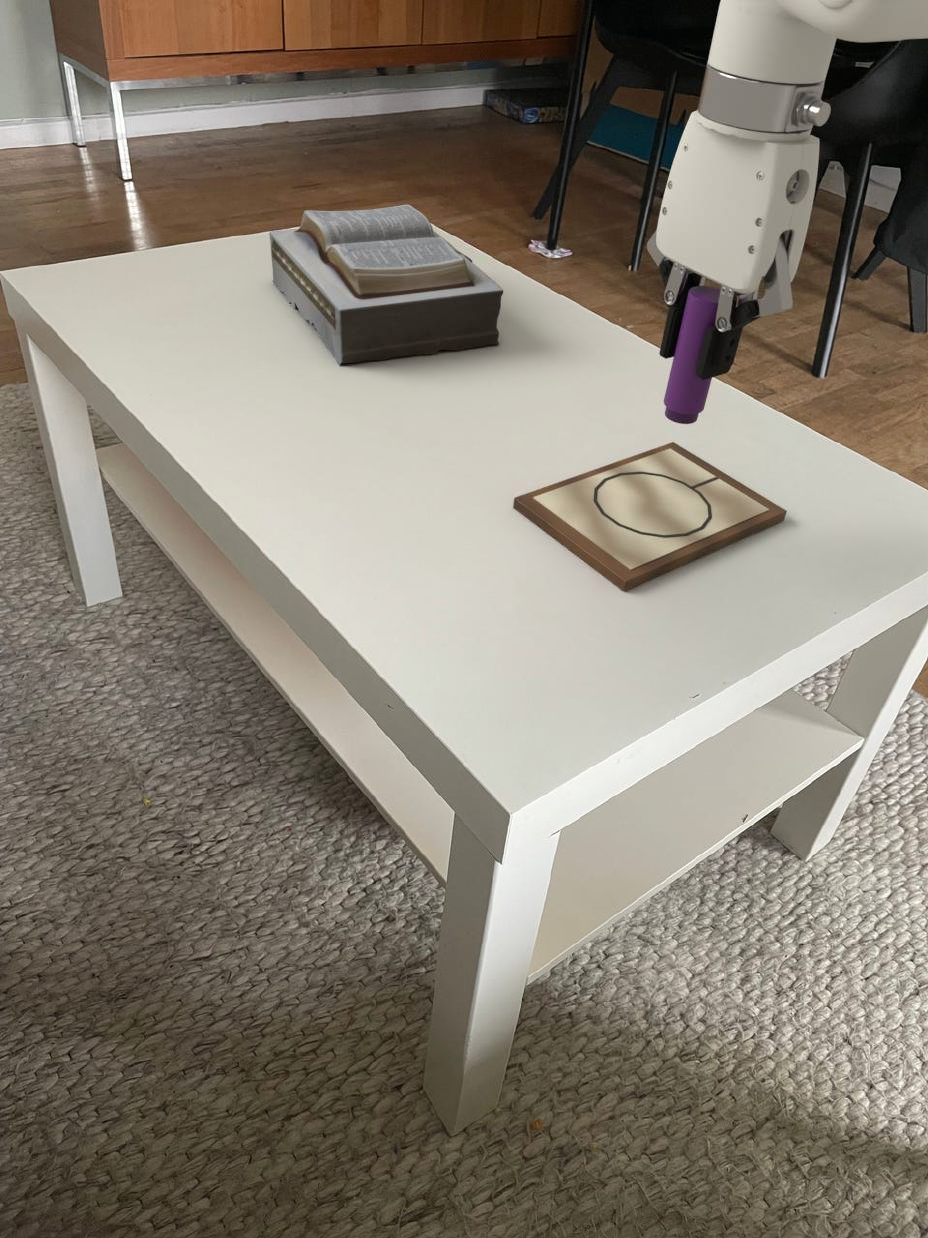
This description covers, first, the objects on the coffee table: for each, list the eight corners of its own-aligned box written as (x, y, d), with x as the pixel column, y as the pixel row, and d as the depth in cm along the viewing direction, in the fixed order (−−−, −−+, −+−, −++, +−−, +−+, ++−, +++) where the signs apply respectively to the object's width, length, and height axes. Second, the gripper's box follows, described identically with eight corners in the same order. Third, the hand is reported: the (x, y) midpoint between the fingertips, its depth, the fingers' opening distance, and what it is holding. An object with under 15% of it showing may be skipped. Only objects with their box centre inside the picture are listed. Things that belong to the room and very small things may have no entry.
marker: (702, 411, 81) (733, 289, 75) (699, 429, 79) (731, 305, 72) (662, 403, 81) (690, 282, 75) (658, 421, 79) (687, 298, 73)
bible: (449, 268, 131) (454, 189, 125) (509, 358, 111) (519, 270, 105) (267, 271, 125) (264, 189, 119) (297, 368, 105) (294, 275, 99)
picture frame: (671, 450, 98) (673, 440, 97) (783, 520, 90) (787, 509, 89) (512, 507, 88) (514, 495, 87) (623, 591, 80) (626, 580, 79)
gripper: (898, 131, 62) (809, 399, 74) (705, 70, 72) (653, 315, 84) (821, 141, 59) (741, 422, 70) (630, 76, 69) (586, 332, 80)
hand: (694, 362), depth 77 cm, fingers closed on marker, 3 cm apart
